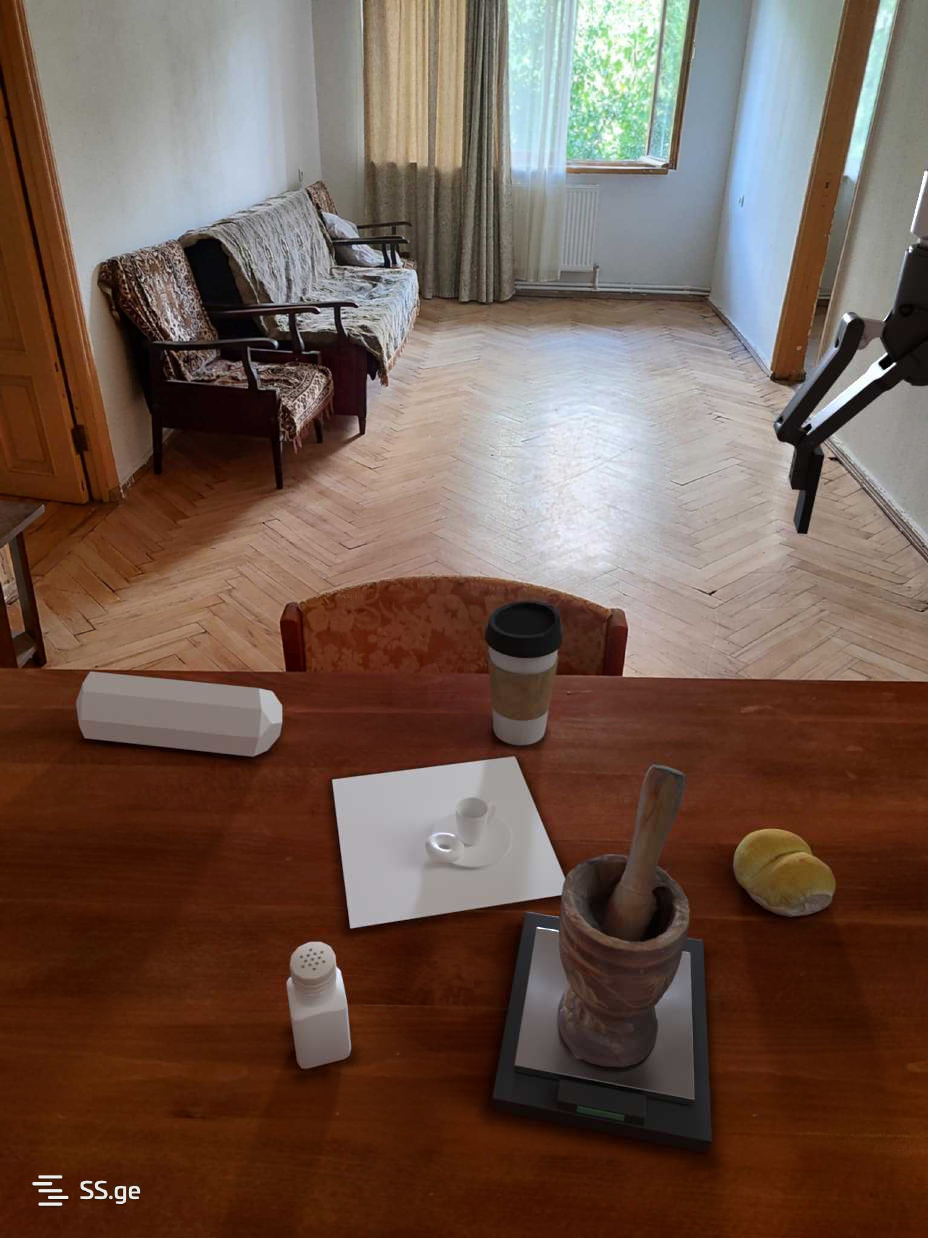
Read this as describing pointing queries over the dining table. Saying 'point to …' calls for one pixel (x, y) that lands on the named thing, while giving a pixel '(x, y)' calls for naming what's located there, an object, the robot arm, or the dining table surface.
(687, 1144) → the scale
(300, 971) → the salt shaker
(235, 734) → the crystal
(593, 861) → the mortar and pestle
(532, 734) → the coffee cup
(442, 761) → the dining table surface
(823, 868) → the bread roll
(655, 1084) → the scale pan
